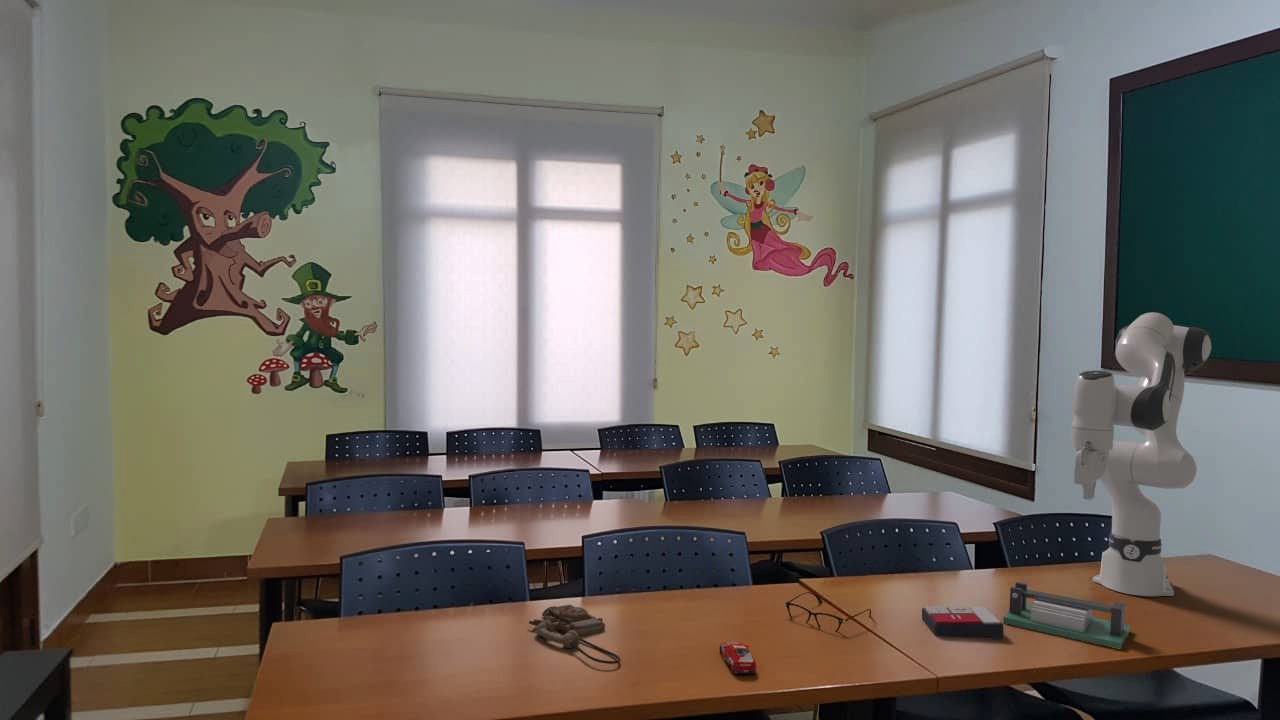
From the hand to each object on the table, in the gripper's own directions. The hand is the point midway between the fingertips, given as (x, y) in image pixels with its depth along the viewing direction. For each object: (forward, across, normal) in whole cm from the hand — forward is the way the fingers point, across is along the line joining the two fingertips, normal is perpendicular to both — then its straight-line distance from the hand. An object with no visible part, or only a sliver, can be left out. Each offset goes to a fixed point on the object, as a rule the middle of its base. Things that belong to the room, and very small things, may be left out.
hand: (1088, 498), depth 199 cm
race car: (+30, -75, +50) cm, 95 cm away
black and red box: (+30, -25, +21) cm, 44 cm away
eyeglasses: (+30, -38, +47) cm, 67 cm away
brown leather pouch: (+30, -86, +84) cm, 124 cm away
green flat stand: (+29, -8, +2) cm, 30 cm away
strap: (+23, -8, +3) cm, 25 cm away
